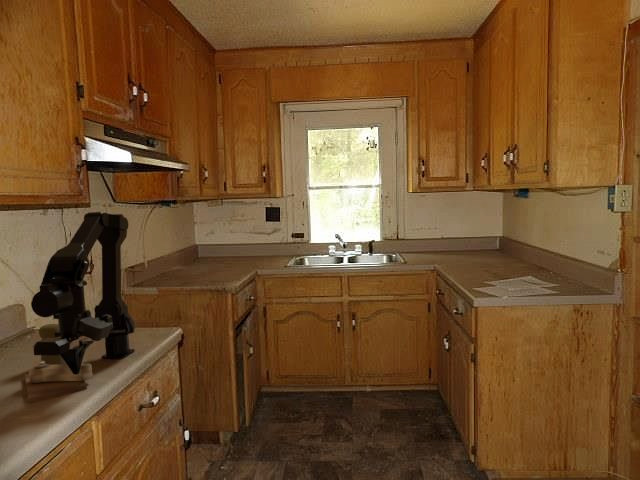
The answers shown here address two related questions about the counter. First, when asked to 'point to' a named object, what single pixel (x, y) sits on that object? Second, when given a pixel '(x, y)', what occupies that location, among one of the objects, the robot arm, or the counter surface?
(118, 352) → the robot arm
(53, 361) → the cork
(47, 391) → the base plate
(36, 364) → the keeper
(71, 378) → the latch arm
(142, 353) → the counter surface
